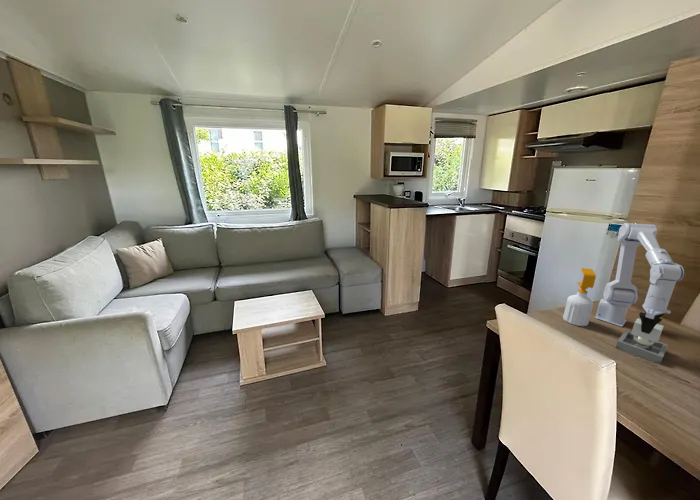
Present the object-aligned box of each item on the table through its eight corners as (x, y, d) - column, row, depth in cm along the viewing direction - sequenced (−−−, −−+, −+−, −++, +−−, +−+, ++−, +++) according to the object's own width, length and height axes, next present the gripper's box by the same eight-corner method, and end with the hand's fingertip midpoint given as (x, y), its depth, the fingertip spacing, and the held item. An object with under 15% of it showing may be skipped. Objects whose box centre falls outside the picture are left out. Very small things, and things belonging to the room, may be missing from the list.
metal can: (629, 346, 109) (633, 335, 108) (632, 341, 112) (636, 330, 111) (649, 353, 105) (653, 341, 104) (652, 348, 108) (656, 336, 107)
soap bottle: (583, 317, 132) (596, 267, 124) (591, 328, 123) (606, 274, 116) (559, 314, 134) (571, 265, 127) (566, 324, 126) (579, 272, 119)
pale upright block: (630, 334, 109) (634, 322, 107) (633, 329, 112) (637, 318, 110) (657, 342, 103) (661, 330, 102) (659, 337, 106) (663, 326, 105)
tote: (615, 347, 110) (617, 341, 109) (623, 336, 117) (625, 330, 116) (660, 364, 101) (662, 357, 100) (665, 351, 108) (668, 344, 107)
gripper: (671, 306, 95) (659, 341, 99) (677, 294, 104) (665, 327, 108) (642, 298, 101) (631, 332, 105) (650, 288, 109) (639, 319, 113)
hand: (647, 329), depth 107 cm, fingers open, 6 cm apart
